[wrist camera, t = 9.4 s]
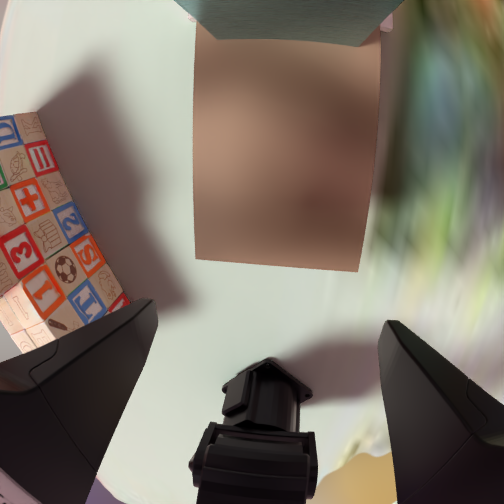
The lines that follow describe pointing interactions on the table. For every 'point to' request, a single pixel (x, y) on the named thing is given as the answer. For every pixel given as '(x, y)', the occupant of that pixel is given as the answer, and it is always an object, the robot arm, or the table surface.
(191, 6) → the grey rectangular block
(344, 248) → the beam
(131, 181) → the table surface
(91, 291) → the stack of blocks
